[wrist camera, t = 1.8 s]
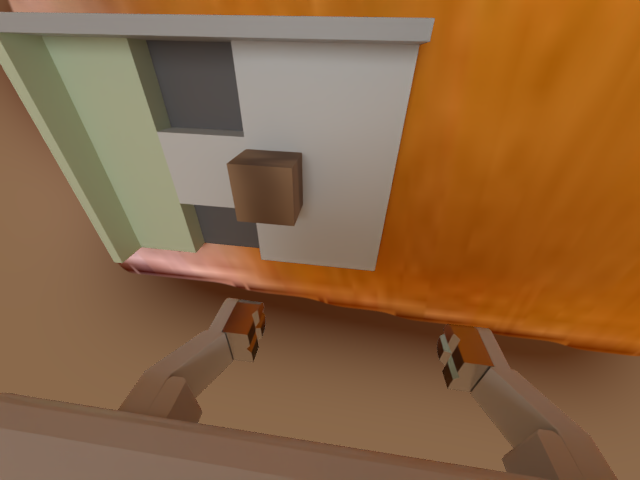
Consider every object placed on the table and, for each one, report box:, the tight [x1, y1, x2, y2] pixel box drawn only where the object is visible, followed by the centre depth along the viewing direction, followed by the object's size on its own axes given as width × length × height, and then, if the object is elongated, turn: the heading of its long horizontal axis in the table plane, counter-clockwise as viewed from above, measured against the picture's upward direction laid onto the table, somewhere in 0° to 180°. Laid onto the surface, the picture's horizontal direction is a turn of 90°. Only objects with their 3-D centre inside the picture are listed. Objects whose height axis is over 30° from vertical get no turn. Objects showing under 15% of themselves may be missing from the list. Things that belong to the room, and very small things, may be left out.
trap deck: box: [0, 12, 435, 271], centre depth 23 cm, size 29×21×6 cm
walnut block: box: [227, 149, 303, 226], centre depth 22 cm, size 5×5×4 cm
